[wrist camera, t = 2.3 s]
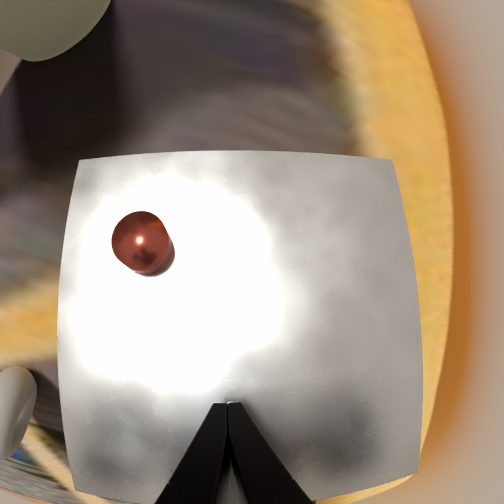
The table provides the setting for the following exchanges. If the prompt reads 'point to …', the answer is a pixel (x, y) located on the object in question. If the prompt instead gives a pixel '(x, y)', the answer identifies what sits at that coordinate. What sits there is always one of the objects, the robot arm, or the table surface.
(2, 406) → the donut
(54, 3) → the can
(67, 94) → the table surface
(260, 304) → the lid
